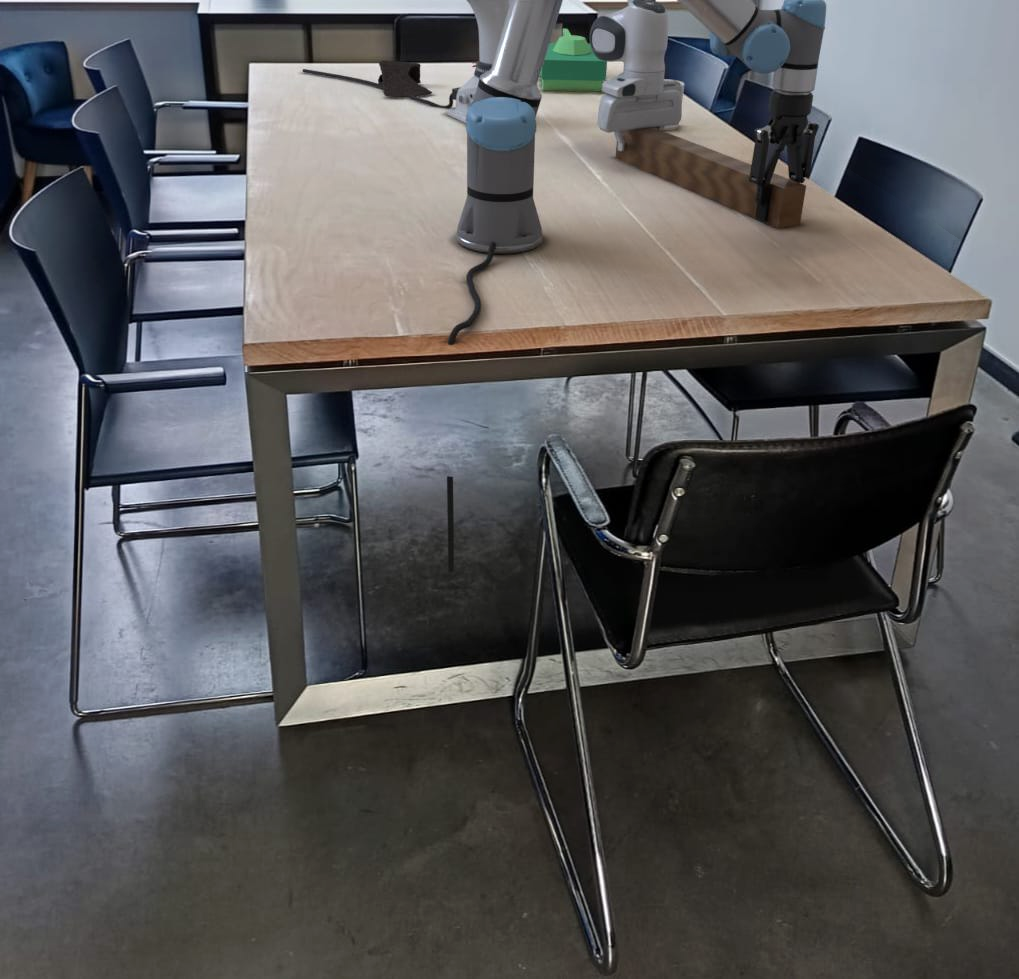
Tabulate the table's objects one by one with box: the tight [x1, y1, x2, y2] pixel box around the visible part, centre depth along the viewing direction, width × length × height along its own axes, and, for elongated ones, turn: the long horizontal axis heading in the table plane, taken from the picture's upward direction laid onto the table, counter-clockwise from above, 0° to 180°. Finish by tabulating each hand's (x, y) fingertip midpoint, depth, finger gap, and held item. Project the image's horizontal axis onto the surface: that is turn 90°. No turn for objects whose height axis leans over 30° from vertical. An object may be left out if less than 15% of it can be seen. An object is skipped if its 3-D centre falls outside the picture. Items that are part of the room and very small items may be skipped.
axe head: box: [377, 59, 433, 99], centre depth 299 cm, size 18×8×15 cm
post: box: [615, 127, 807, 229], centre depth 224 cm, size 55×5×8 cm, turn 29°
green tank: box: [539, 28, 608, 92], centre depth 314 cm, size 18×12×35 cm
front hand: (773, 217), depth 209 cm, fingers closed on post, 5 cm apart
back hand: (637, 148), depth 242 cm, fingers open, 7 cm apart
